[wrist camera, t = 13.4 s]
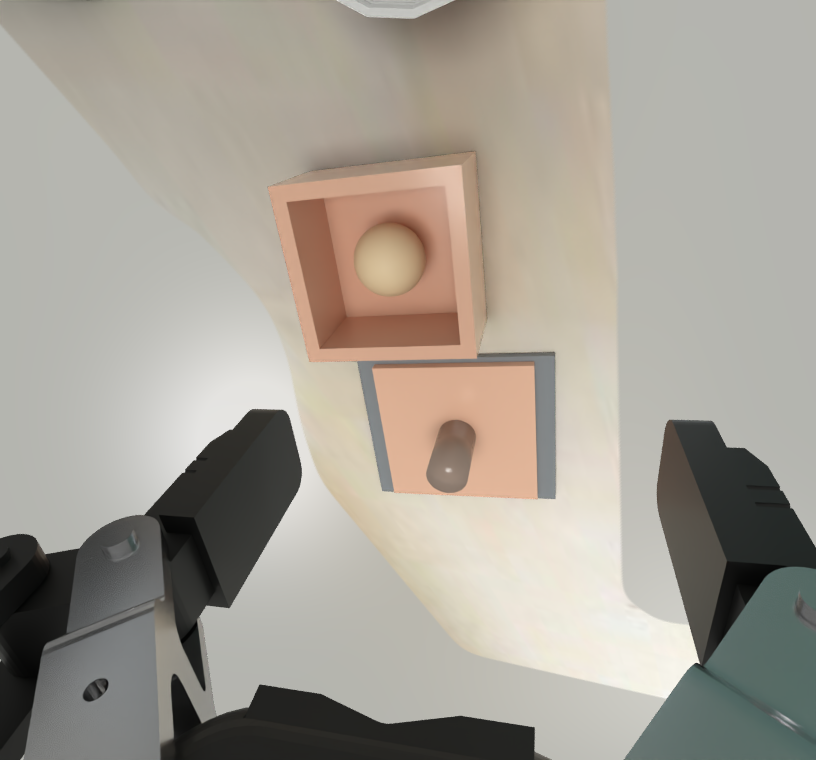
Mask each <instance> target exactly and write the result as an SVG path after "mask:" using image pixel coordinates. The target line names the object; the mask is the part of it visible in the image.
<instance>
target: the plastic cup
mask: <svg viewBox="0 0 816 760" xmlns="http://www.w3.org/2000/svg"><path fill="white" fill-rule="evenodd" d="M336 1H338V2H340V3H342V4H344V5H345V6H347V7H349V8H351V9H353V10H355V11H356V12H358V13H360V14H362V15H364V16H366V17H380V18H407V19H415V18H417V17H419V16H421V15H424V14H426V13H428V12H430V11H432V10H434V9H437V8H439V7H441V6H443V5H445V4H448V3H450V2H452V1H454V0H336Z"/></svg>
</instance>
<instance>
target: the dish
mask: <svg viewBox="0 0 816 760" xmlns="http://www.w3.org/2000/svg"><path fill="white" fill-rule="evenodd" d="M268 190H269V194H270V198H271V203H272V207H273V211H274V215H275V219H276V224H277V228H278V232H279V236H280V240H281V245H282V249H283V253H284V257H285V261H286V266H287V270H288V274H289V278H290V282H291V287H292V291H293V295H294V299H295V303H296V308H297V312H298V316H299V320H300V324H301V328H302V333H303V337H304V341H305V345H306V349H307V354H308V358H309V362H332V361H381V360H431V359H477V356H478V352H479V348H480V344H481V341H482V337H483V333H484V329H485V325H486V321H487V311H486V296H485V281H484V266H483V251H482V236H481V221H480V206H479V191H478V176H477V161H476V151H473V152H465V153H456V154H448V155H440V156H431V157H423V158H415V159H406V160H398V161H390V162H381V163H373V164H365V165H357V166H348V167H340V168H332V169H323V170H315V171H309V172H307V173H304V174H301V175H298V176H296V177H293V178H290V179H288V180H285V181H282V182H279V183H277V184H274V185H271V186H268ZM382 223H397V224H401V225H403V226H405V227H407V228H409V229H410V230H412V231H413V232H414V233H415V234H416V235H417V236H418V238H419V239H420V241H421V242H422V244H423V247H424V250H425V255H426V265H425V270H424V273H423V275H422V277H421V279H420V281H419V282H418V284H417V285H416V286H415V287H414V288H413V289H411V290H410V291H408V292H407V293H405V294H402V295H399V296H393V297H386V296H381V295H378V294H375V293H373V292H371V291H370V290H369V289H367V288H366V287H365V286H364V285H363V284H362V283H361V281H360V280H359V278H358V276H357V274H356V271H355V268H354V251H355V247H356V245H357V243H358V241H359V239H360V238H361V236H362V235H363V234H364V233H365V232H366V231H367V230H369V229H370V228H372V227H373V226H376V225H378V224H382Z"/></svg>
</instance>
